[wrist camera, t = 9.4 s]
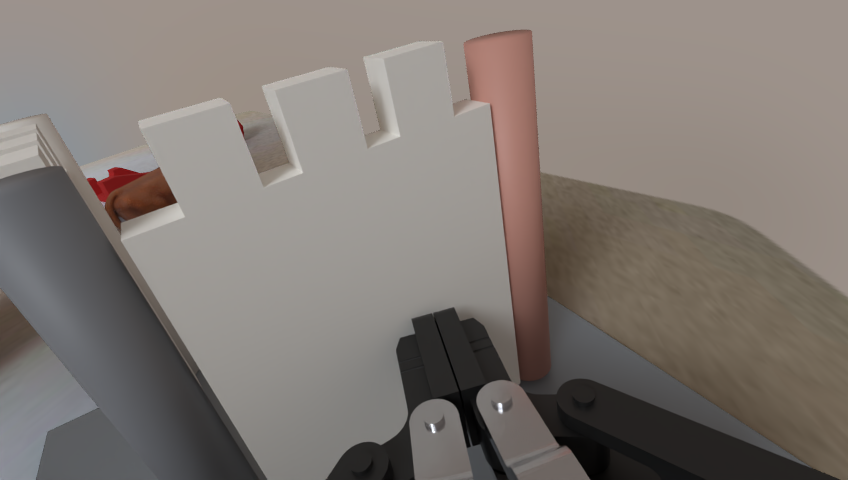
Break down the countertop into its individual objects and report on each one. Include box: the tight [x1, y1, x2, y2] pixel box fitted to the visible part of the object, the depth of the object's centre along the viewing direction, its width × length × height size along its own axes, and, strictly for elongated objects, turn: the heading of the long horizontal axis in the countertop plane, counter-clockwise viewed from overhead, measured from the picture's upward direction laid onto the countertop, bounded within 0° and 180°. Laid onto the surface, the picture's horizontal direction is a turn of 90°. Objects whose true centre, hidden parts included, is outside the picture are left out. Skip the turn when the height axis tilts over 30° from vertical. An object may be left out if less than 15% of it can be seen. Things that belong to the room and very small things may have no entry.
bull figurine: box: [105, 167, 178, 230], centre depth 39 cm, size 4×13×8 cm, turn 157°
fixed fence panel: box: [0, 114, 259, 480], centre depth 17 cm, size 14×2×14 cm, turn 40°
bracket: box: [87, 167, 149, 202], centre depth 57 cm, size 6×5×3 cm
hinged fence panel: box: [121, 30, 551, 480], centre depth 15 cm, size 12×2×14 cm, turn 122°
